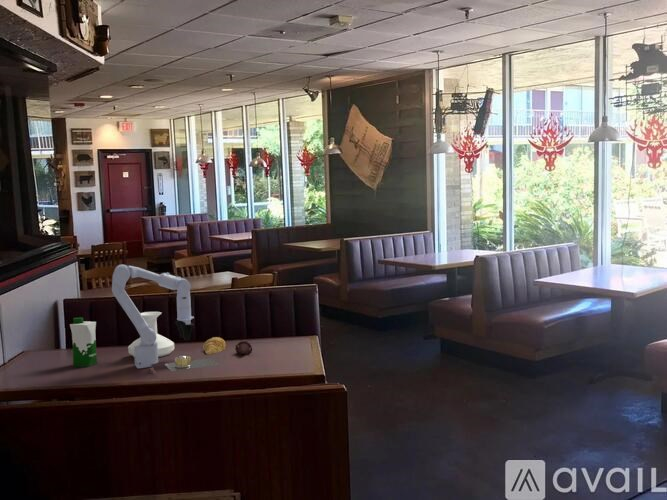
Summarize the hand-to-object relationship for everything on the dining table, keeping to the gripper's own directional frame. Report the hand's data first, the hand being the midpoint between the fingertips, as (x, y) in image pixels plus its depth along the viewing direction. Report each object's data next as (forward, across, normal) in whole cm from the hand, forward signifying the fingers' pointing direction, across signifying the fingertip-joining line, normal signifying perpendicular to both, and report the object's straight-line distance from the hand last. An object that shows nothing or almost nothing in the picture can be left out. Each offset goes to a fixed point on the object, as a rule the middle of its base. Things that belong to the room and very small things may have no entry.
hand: (185, 338), depth 289 cm
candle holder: (+10, +19, +11) cm, 24 cm away
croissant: (+10, +13, -16) cm, 23 cm away
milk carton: (+10, +18, +39) cm, 44 cm away
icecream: (+10, -2, -25) cm, 27 cm away
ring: (+8, -12, +4) cm, 15 cm away
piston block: (+10, -11, 0) cm, 15 cm away
